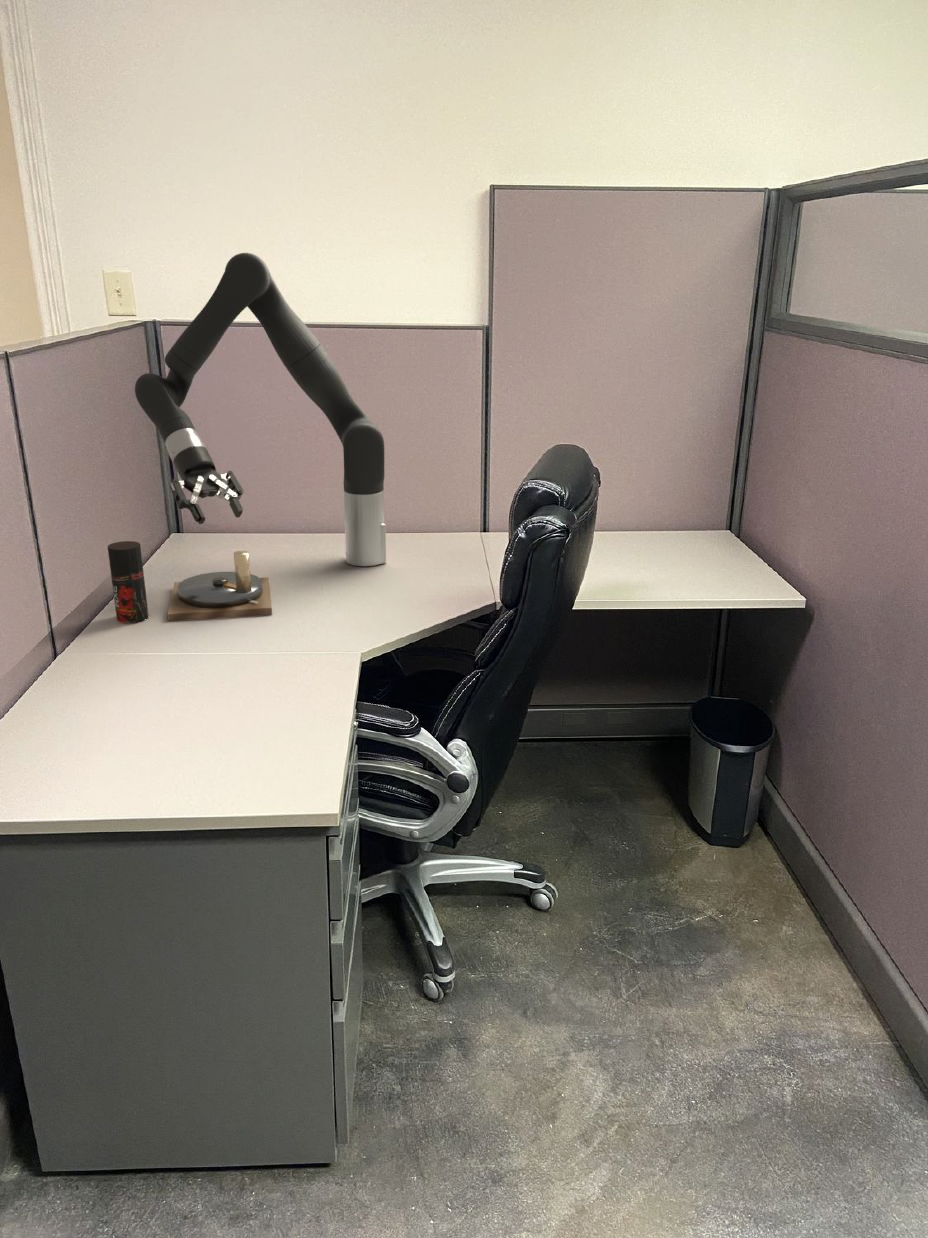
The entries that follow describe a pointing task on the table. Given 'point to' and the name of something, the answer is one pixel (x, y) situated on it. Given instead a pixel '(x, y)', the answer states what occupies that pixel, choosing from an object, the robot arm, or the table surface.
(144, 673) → the table surface
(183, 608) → the stand base
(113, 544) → the deodorant
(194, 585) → the crank turntable
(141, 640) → the table surface
